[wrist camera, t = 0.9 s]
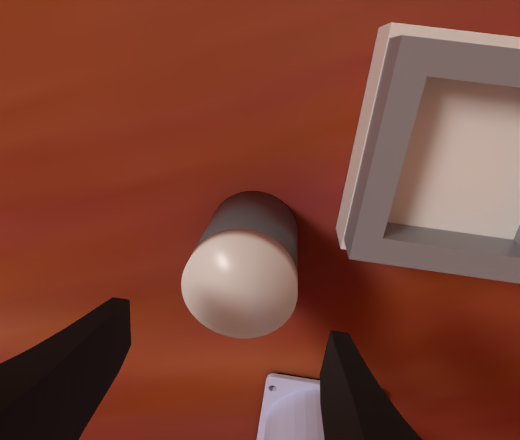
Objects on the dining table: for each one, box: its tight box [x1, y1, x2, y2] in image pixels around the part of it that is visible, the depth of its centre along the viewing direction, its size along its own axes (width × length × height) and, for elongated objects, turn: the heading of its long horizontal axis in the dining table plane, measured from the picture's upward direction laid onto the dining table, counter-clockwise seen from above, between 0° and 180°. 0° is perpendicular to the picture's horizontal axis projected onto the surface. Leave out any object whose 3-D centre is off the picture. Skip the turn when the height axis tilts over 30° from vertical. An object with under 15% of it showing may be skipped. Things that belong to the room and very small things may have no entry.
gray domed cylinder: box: [181, 191, 298, 338], centre depth 19 cm, size 5×5×6 cm
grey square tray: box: [336, 22, 520, 284], centre depth 17 cm, size 10×9×4 cm
